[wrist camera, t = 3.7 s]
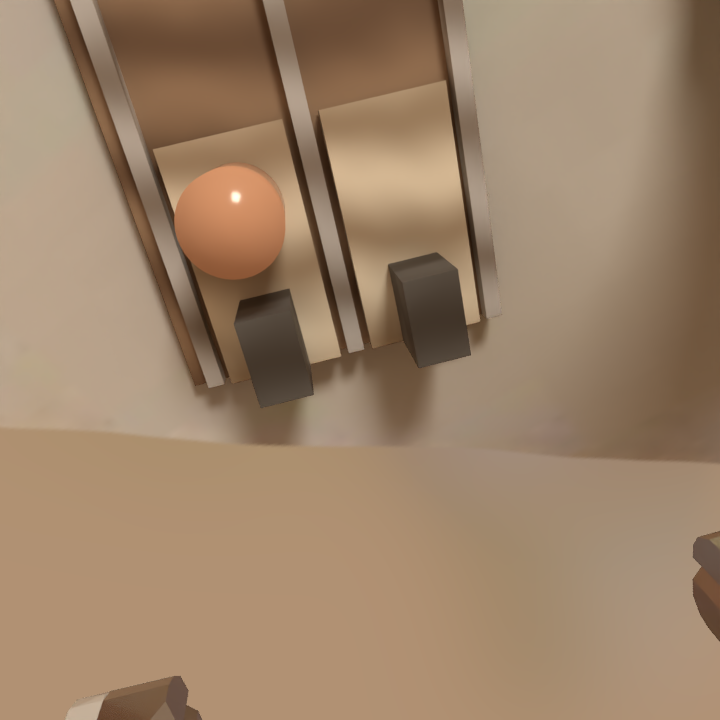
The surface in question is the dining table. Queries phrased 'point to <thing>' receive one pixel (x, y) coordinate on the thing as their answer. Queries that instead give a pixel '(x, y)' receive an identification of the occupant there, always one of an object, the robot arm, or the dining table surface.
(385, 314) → the strip
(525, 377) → the dining table surface
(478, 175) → the lane board
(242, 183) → the orange rounded piece
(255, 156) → the strip
